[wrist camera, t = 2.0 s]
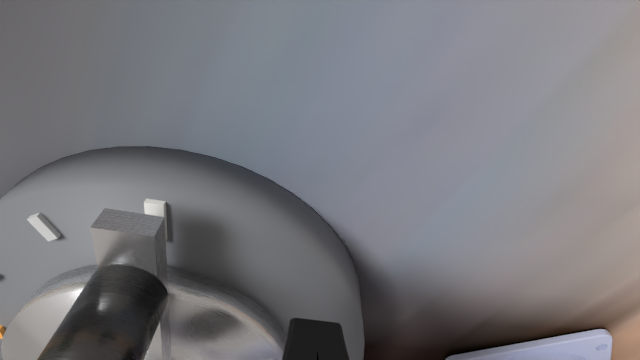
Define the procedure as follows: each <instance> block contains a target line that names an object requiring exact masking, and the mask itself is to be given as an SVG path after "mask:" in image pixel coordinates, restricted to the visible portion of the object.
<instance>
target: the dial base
mask: <svg viewBox="0 0 640 360" xmlns="http://www.w3.org/2000/svg"><path fill="white" fill-rule="evenodd" d="M104 208H107V209H114V210H121V211H128V212H134V213H141V214H148V215H155V216H162V217H165V234H166V255H167V267H172V268H178V269H181V270H185V271H189V272H192V273H196V274H199V275H202V276H205V277H207V278H210V279H213V280H216V281H218V282H220V283H222V284H224V285H227V286H229V287H231V288H233V289H235V290H237V291H238V292H240V293H242V294H243V295H245V296H247V297H248V298H250V299H251V300H253V301H254V302H255V303H257V304H258V305H259V306H261V307H262V308H263V309H265V310H266V311H267V312H268V313H269V314H270V315H271V316H272V317H273V318H274V319H275V320H276V322H277V323H278V324H279V326H280V327H281V328H282V329H283V331H284V333H285V335H286V336H287V333H288V328H289V323H290V320H291V319H293V318H303V319H311V320H319V321H328V322H336V323H339V324H340V325H341V326H342V331H343V336H344V340H345V344H346V348H347V352H348V356H349V360H363V357H364V345H365V341H364V329H363V318H362V306H361V295H360V287H359V280H358V276H357V273H356V270H355V267H354V264H353V261H352V259H351V257H350V255H349V253H348V252H347V250H346V248H345V246H344V244H343V243H342V241H341V240H340V239H339V237H338V236H337V235H336V233H335V232H334V231H333V229H332V228H331V227H330V226H329V225H328V224H327V223H326V222H325V221H324V220H323V219H322V218H321V217H320V216H319V215H318V214H317V213H316V212H315V211H314V210H313V209H312V208H311V207H309V206H308V205H307V204H306V203H304V202H303V201H302V200H300V199H299V198H298V197H296V196H295V195H294V194H293V193H291V192H289V191H288V190H286V189H284V188H283V187H281V186H279V185H278V184H276V183H274V182H273V181H271V180H269V179H267V178H265V177H263V176H261V175H259V174H256V173H254V172H252V171H250V170H248V169H245V168H243V167H241V166H238V165H235V164H232V163H229V162H226V161H223V160H220V159H217V158H214V157H211V156H206V155H202V154H197V153H193V152H188V151H183V150H177V149H168V148H159V147H149V146H143V147H112V148H104V149H96V150H89V151H85V152H82V153H78V154H74V155H70V156H67V157H63V158H61V159H59V160H56V161H54V162H52V163H49V164H47V165H45V166H42V167H40V168H39V169H37V170H36V171H34V172H33V173H31V174H30V175H28V176H27V177H25V178H24V179H22V180H21V181H20V182H19V183H18V184H16V185H15V186H14V187H13V188H12V189H11V190H9V191H8V192H7V193H6V194H5V195H4V196H3V197H1V198H0V360H3V359H2V352H1V344H2V338H3V335H4V333H5V331H6V329H7V327H8V325H9V324H10V323H11V321H12V320H13V319H14V317H15V316H16V315H17V314H18V312H19V311H20V310H21V308H22V307H23V306H24V305H25V303H26V302H27V301H28V299H29V298H30V297H31V296H32V295H33V293H34V292H35V291H36V290H37V289H38V288H39V287H41V286H42V285H43V284H44V283H46V282H47V281H48V280H50V279H52V278H54V277H56V276H58V275H60V274H62V273H65V272H68V271H71V270H74V269H77V268H81V267H86V266H90V265H96V264H97V262H96V257H95V252H94V246H93V241H92V235H91V230H90V227H91V226H92V224H93V223H94V222H95V220H96V219H97V218H98V216H99V215H100V214H101V212H102V211H103V210H104Z"/></svg>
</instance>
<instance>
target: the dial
mask: <svg viewBox="0 0 640 360" xmlns="http://www.w3.org/2000/svg"><path fill="white" fill-rule="evenodd" d="M90 230H91V235H92V241H93V246H94V252H95V257H96V262H97V264H96V265H90V266H86V267H81V268H77V269H74V270H71V271H68V272H65V273H62V274H60V275H58V276H56V277H54V278H52V279H50V280H48V281H47V282H46V283H44V284H43V285H42V286H41V287H39V288H38V289H37V290H36V291H35V292H34V293H33V295H32V296H31V297H30V298H29V299H28V301H27V302H26V303H25V305H24V306H23V307H22V308H21V310H20V311H19V312H18V314H17V315H16V316H15V317H14V319H13V320H12V321H11V323H10V324H9V325H8V327H7V329H6V331H5V333H4V335H3V338H2V344H1V352H2V359H3V360H282V357H283V352H284V347H285V342H286V338H287V336H286V335H285V333H284V331H283V329H282V328H281V327H280V326H279V324H278V323H277V322H276V320H275V319H274V318H273V317H272V316H271V315H270V314H269V313H268V312H267V311H266V310H265V309H263V308H262V307H261V306H259V305H258V304H257V303H255V302H254V301H253V300H251V299H250V298H248V297H247V296H245V295H243V294H242V293H240V292H238V291H237V290H235V289H233V288H231V287H229V286H227V285H224V284H222V283H220V282H218V281H216V280H213V279H210V278H207V277H205V276H202V275H199V274H196V273H192V272H189V271H185V270H181V269H178V268H172V267H167V255H166V234H165V217H162V216H155V215H148V214H141V213H134V212H128V211H121V210H114V209H107V208H104V210H103V211H102V212H101V214H100V215H99V216H98V218H97V219H96V220H95V222H94V223H93V224H92V226H91V227H90Z"/></svg>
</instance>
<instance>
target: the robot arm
mask: <svg viewBox="0 0 640 360" xmlns="http://www.w3.org/2000/svg"><path fill="white" fill-rule="evenodd" d="M611 351H612V336H611V335H610V333H609V332H608V331H607V330H605V329H595V330H589V331H584V332H578V333H573V334H567V335H562V336H556V337H551V338H545V339H540V340H534V341H529V342H523V343H518V344H512V345H506V346H501V347H495V348H490V349H484V350H479V351H473V352H468V353H462V354H457V355H452V356H449V357H447V358H446V360H611ZM282 360H349V356H348V352H347V348H346V344H345V340H344V336H343V331H342V326H341V325H340V324H339V323H336V322H328V321H319V320H311V319H303V318H293V319H291V320H290V323H289V328H288V333H287V338H286V342H285V347H284V352H283V357H282Z"/></svg>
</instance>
